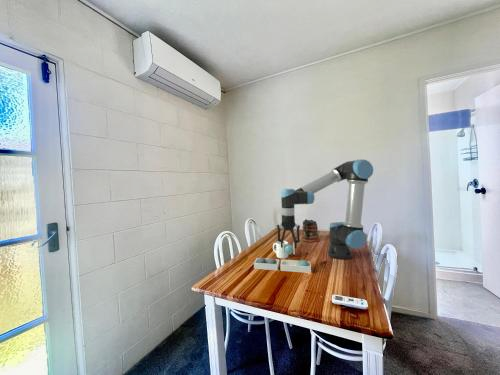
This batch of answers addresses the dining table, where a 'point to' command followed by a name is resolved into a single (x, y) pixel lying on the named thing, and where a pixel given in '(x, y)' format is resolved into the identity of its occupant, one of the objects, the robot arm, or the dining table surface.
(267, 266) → the tray grey
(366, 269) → the dining table surface
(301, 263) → the teal ball in tray
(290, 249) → the teal ball
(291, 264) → the tray cream
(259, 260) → the charcoal ball
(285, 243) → the cup
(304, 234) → the beer stein
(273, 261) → the charcoal ball
